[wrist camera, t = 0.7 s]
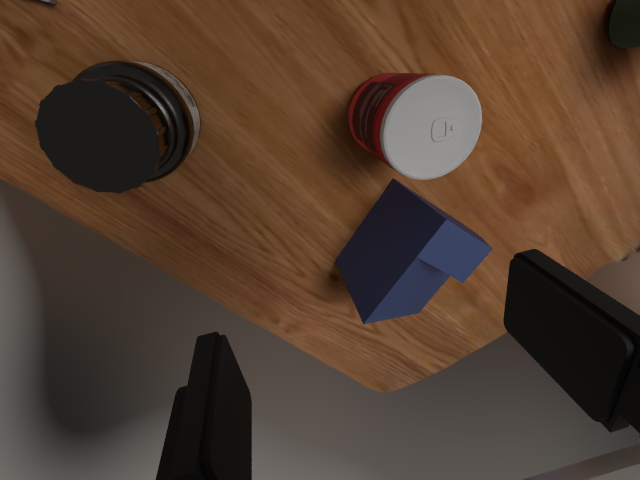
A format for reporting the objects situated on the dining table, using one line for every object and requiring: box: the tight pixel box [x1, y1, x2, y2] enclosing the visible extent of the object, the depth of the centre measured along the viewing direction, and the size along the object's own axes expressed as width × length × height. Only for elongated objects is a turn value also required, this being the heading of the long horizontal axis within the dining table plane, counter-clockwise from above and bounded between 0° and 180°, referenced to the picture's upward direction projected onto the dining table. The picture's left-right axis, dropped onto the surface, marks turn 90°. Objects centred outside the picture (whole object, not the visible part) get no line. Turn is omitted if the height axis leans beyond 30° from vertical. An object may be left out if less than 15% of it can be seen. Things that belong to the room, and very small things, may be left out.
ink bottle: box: [35, 61, 201, 193], centre depth 26 cm, size 10×9×12 cm
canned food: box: [349, 73, 482, 180], centre depth 30 cm, size 8×8×11 cm
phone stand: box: [335, 179, 492, 324], centre depth 37 cm, size 12×12×12 cm
